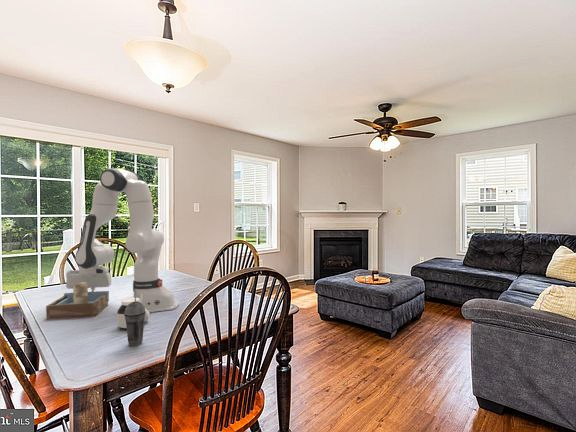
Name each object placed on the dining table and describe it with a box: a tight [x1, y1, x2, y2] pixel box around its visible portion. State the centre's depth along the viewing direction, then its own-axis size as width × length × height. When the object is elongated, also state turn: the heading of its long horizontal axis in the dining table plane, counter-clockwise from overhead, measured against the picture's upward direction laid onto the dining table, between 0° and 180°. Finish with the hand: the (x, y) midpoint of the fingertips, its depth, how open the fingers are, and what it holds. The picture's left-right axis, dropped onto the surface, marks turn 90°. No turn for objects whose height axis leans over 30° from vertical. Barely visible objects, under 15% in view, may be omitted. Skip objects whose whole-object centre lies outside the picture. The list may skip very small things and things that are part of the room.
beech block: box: [72, 282, 89, 304], centre depth 155 cm, size 5×5×11 cm
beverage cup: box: [124, 289, 146, 348], centre depth 117 cm, size 7×7×20 cm
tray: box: [56, 290, 110, 305], centre depth 156 cm, size 19×20×5 cm
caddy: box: [45, 294, 109, 320], centre depth 153 cm, size 17×20×6 cm
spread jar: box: [116, 297, 151, 331], centre depth 136 cm, size 12×11×12 cm
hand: (89, 296), depth 166 cm, fingers closed
